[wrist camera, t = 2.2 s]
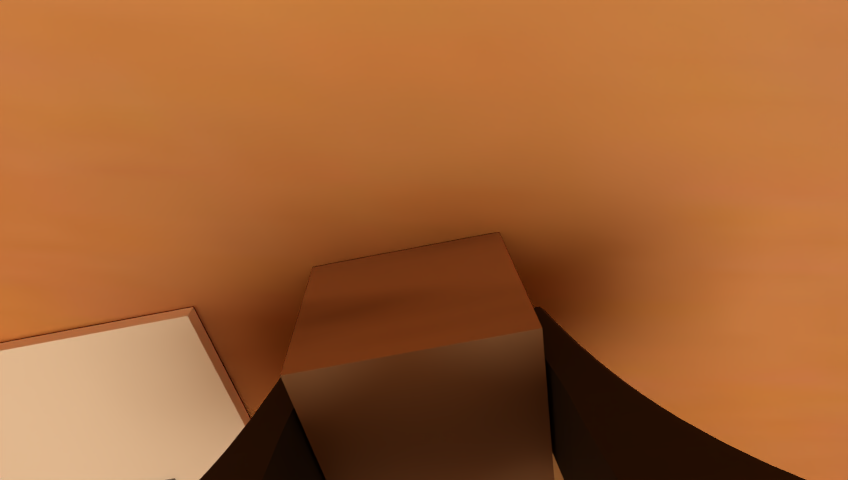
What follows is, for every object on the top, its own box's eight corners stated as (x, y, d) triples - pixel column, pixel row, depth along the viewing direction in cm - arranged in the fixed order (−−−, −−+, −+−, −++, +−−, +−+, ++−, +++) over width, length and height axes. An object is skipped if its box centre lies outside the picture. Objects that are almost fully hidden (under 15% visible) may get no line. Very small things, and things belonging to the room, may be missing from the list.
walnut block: (515, 372, 14) (555, 493, 11) (358, 400, 15) (347, 529, 11) (498, 231, 12) (542, 327, 9) (312, 267, 12) (279, 376, 9)
